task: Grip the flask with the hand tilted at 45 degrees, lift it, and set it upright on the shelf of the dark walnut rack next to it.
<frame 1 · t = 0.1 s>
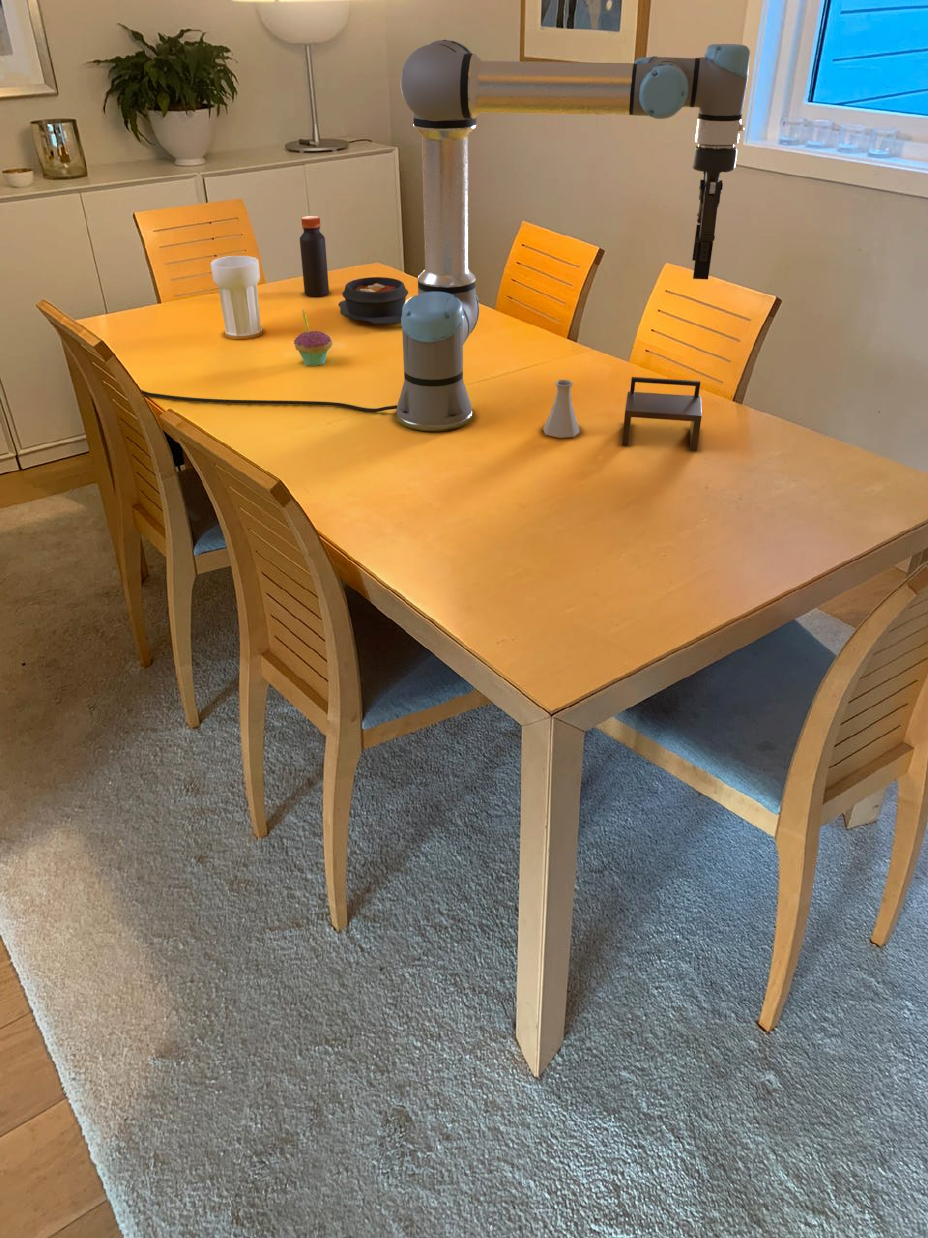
hand: (699, 269, 183), 28 cm above the table, tool pointing down, fingers open, 13 cm apart
flask: (561, 432, 189), on the table
bottle: (317, 294, 269), on the table
rack: (659, 437, 186), on the table
cup: (244, 334, 240), on the table
cupcake: (315, 363, 222), on the table
casserole: (376, 317, 251), on the table
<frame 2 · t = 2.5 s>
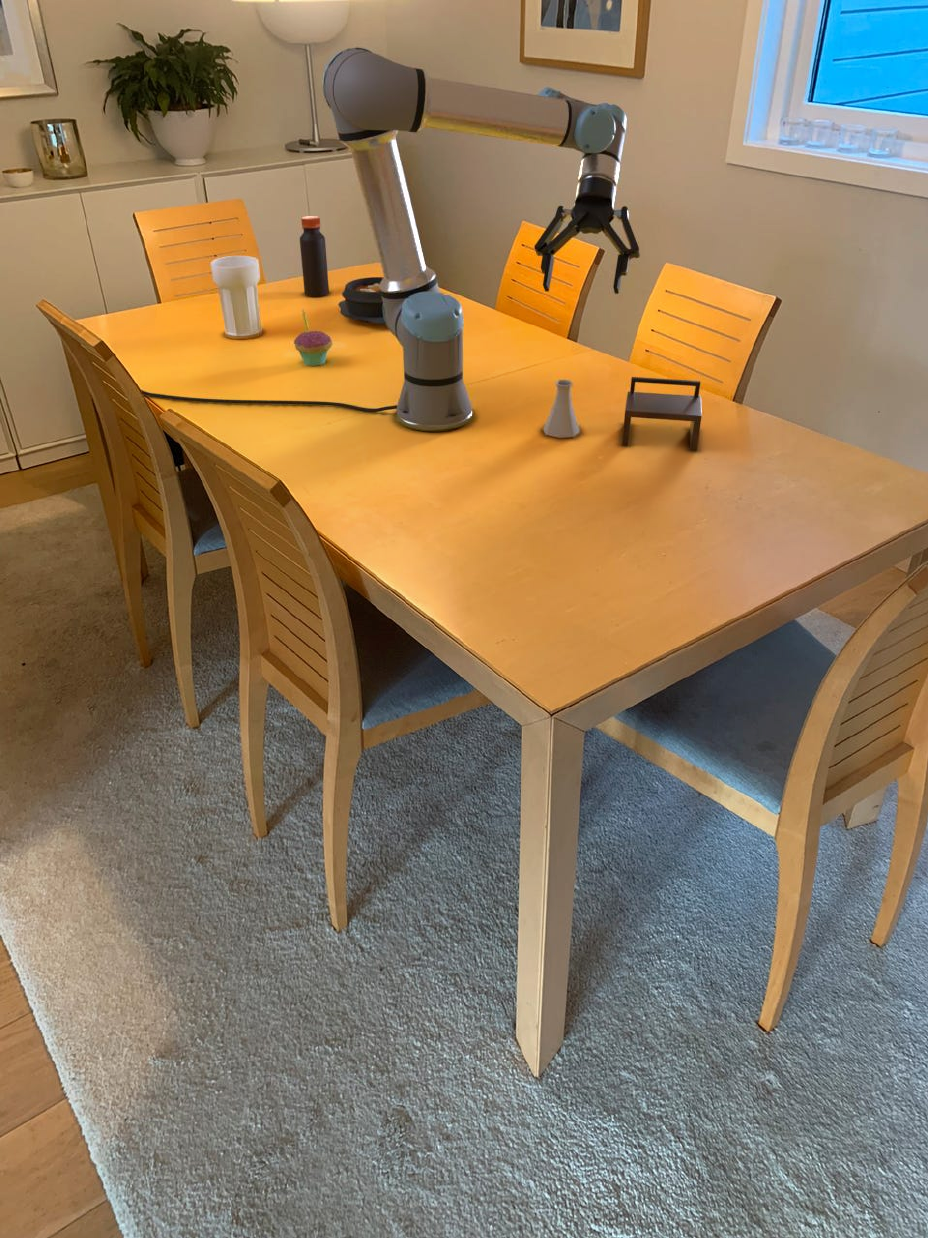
hand: (580, 289, 184), 24 cm above the table, tool tilted 40°, fingers open, 13 cm apart
nothing on the table moved.
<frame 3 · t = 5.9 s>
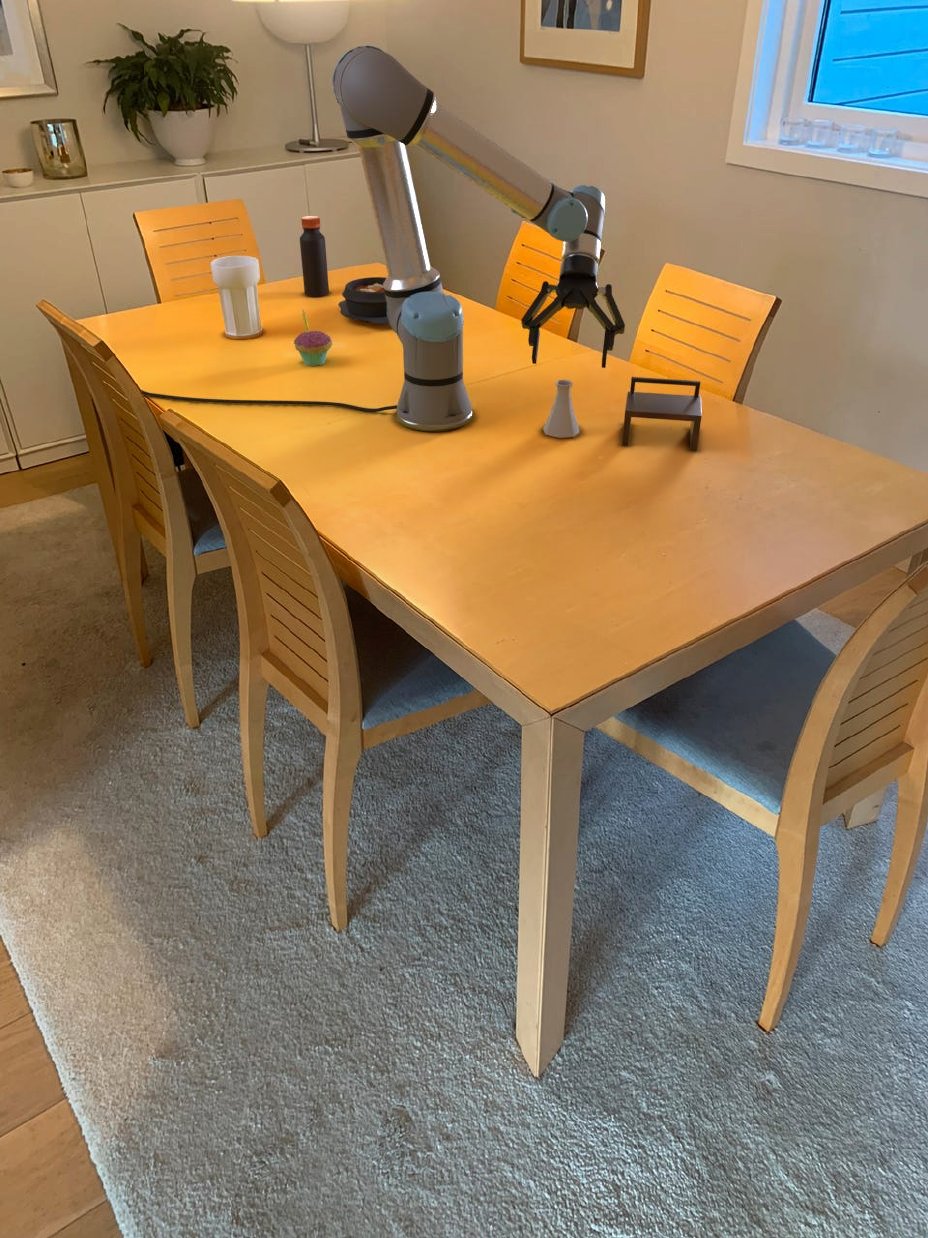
hand: (568, 362, 188), 12 cm above the table, tool tilted 45°, fingers open, 13 cm apart
nothing on the table moved.
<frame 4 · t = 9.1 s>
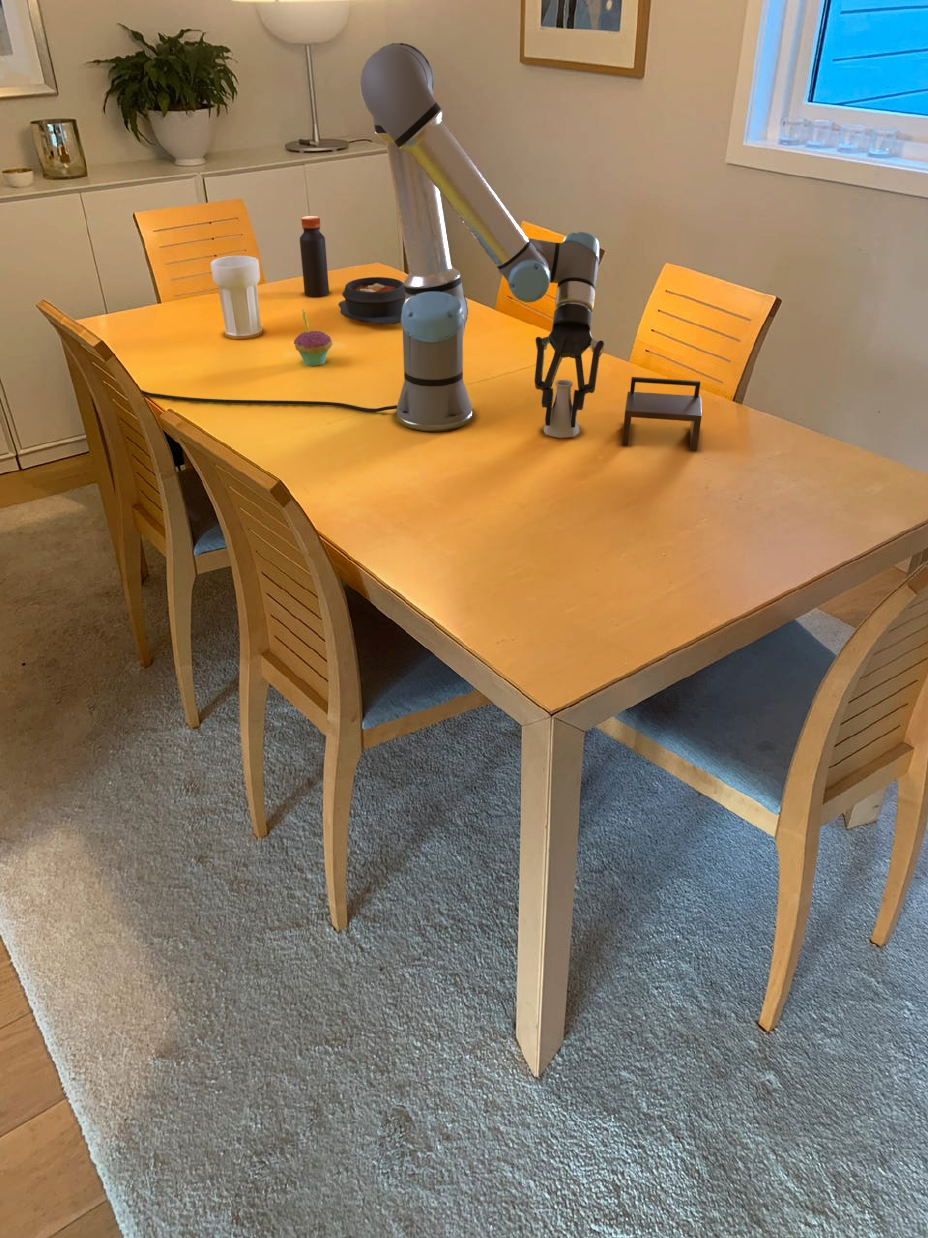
hand: (560, 423, 184), 3 cm above the table, tool tilted 45°, fingers closed on flask, 4 cm apart
flask: (561, 432, 189), on the table, touching gripper
everything else where it was.
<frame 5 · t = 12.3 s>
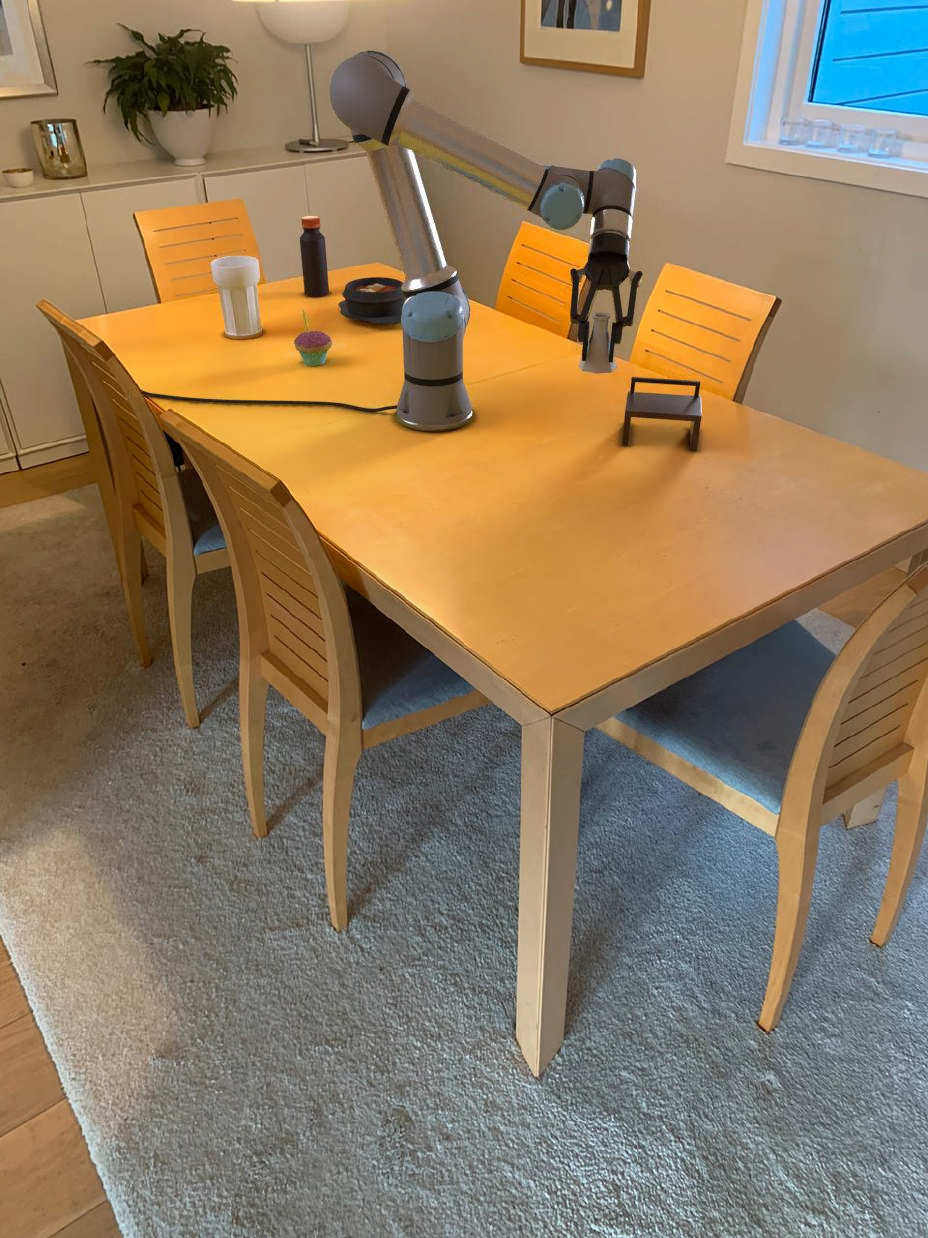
hand: (597, 357, 176), 16 cm above the table, tool tilted 45°, fingers closed on flask, 4 cm apart
flask: (597, 369, 181), point 13 cm above the table, touching gripper
everything else where it was.
when the fingers open (10 cm above the table, at t = 15.9 s): flask stays where it is, resting on rack.
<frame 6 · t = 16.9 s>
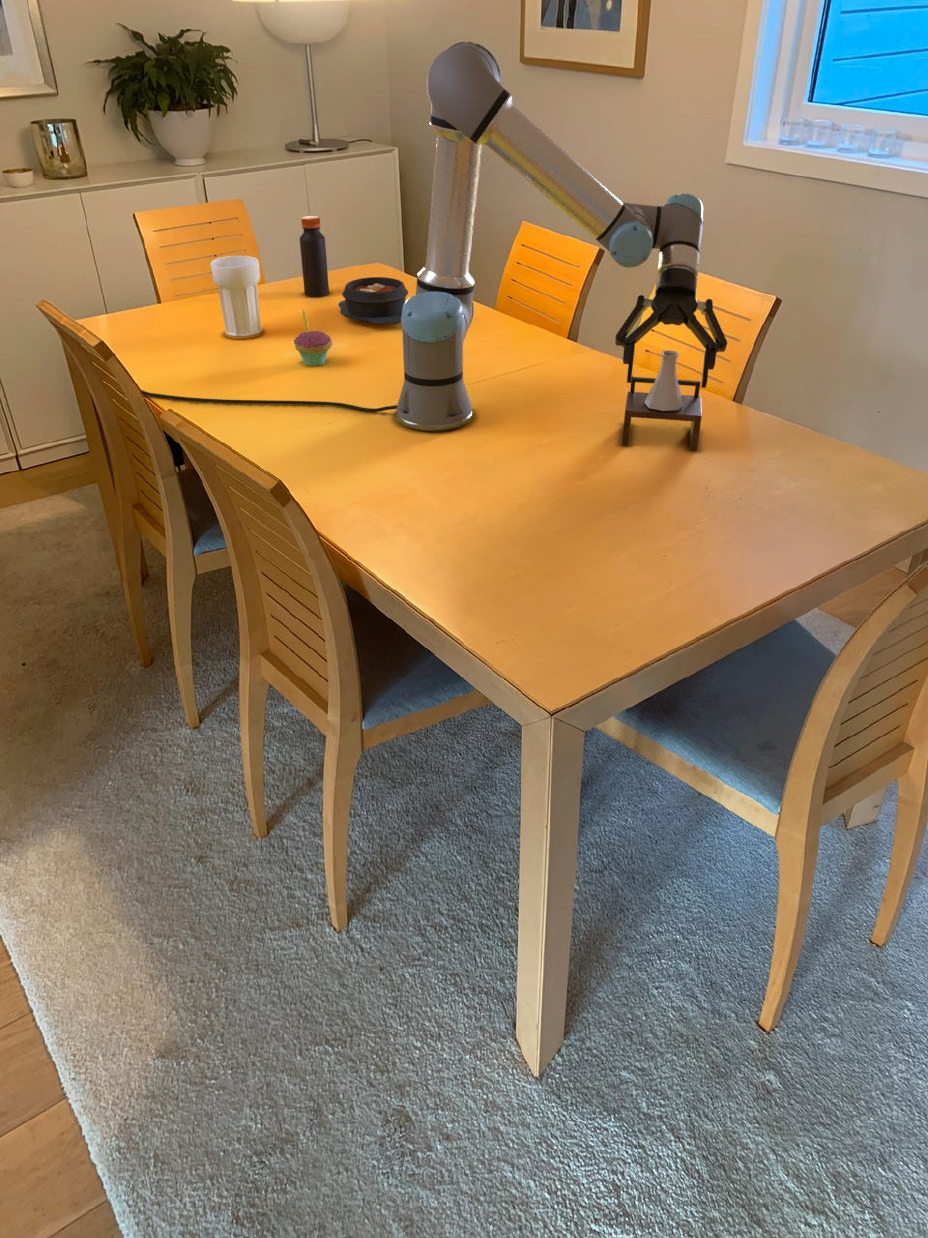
hand: (666, 382, 177), 12 cm above the table, tool tilted 45°, fingers open, 13 cm apart
flask: (663, 406, 182), point 7 cm above the table, touching rack
everything else where it was.
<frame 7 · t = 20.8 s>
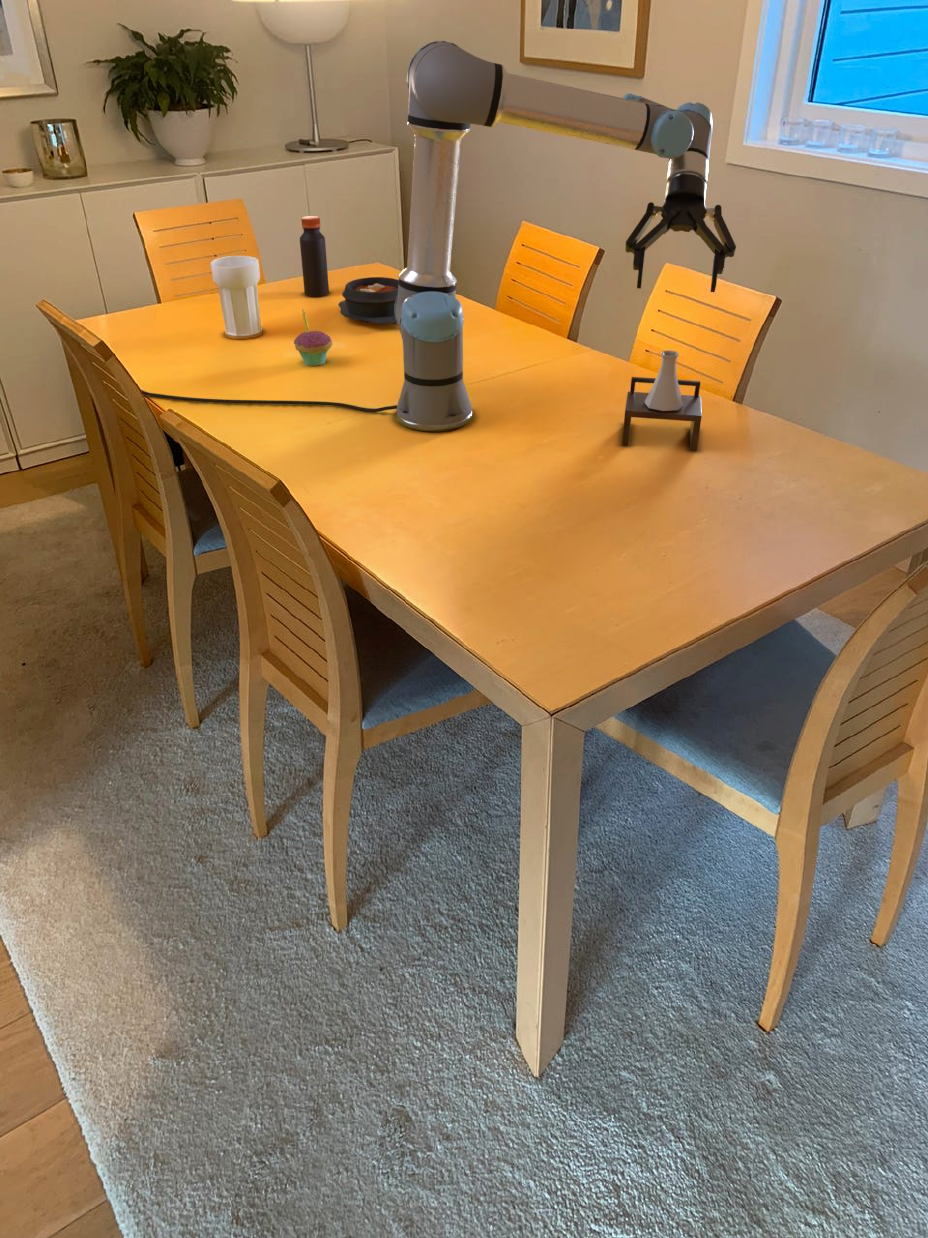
hand: (676, 286, 179), 26 cm above the table, tool tilted 45°, fingers open, 13 cm apart
nothing on the table moved.
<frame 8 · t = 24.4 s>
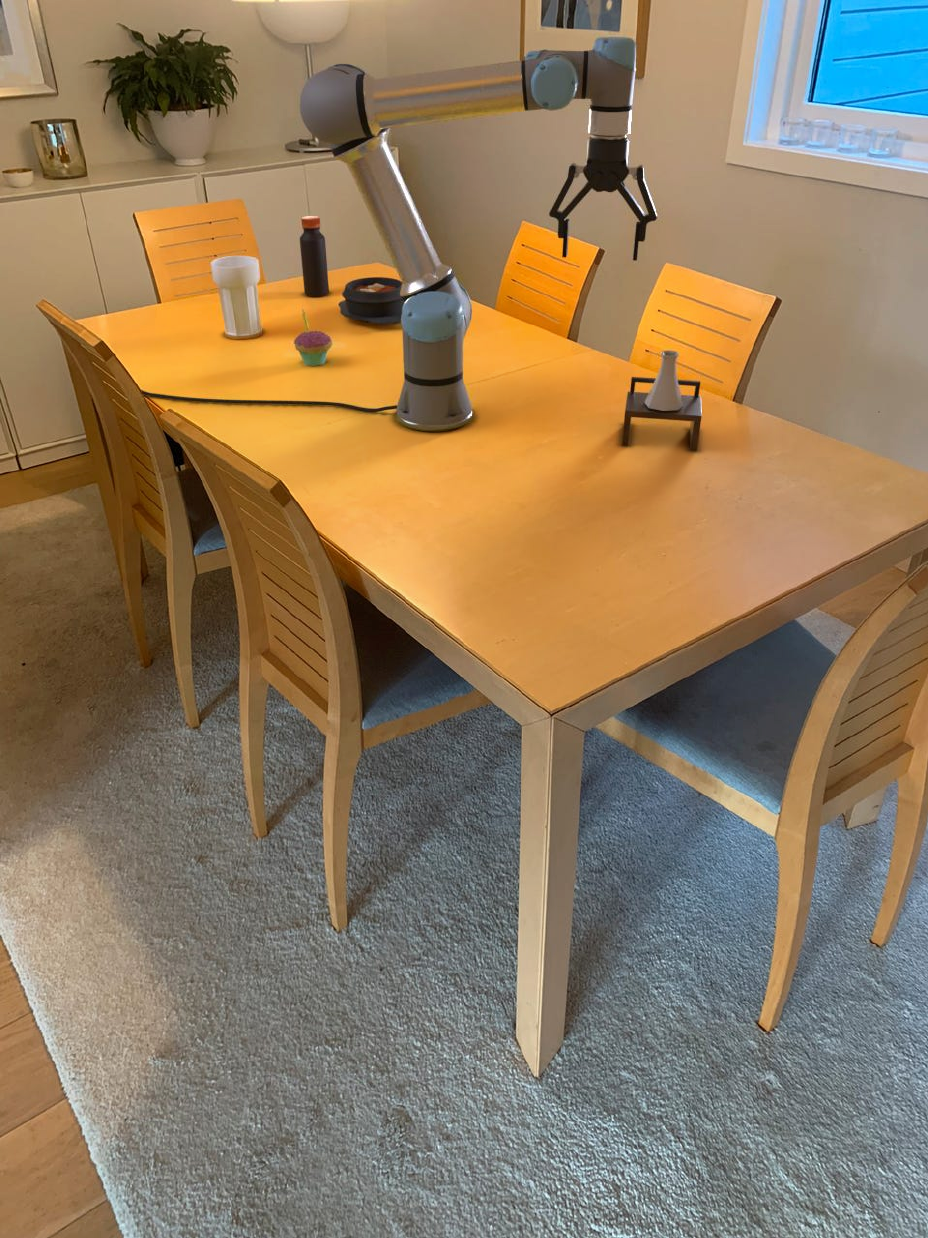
hand: (599, 257, 187), 29 cm above the table, tool pointing down, fingers open, 13 cm apart
nothing on the table moved.
at the end: flask inside the target area on the rack (0.9 cm from its centre), point 6.8 cm above the rack's base; flask tilted 0°; the gripper is holding nothing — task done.
